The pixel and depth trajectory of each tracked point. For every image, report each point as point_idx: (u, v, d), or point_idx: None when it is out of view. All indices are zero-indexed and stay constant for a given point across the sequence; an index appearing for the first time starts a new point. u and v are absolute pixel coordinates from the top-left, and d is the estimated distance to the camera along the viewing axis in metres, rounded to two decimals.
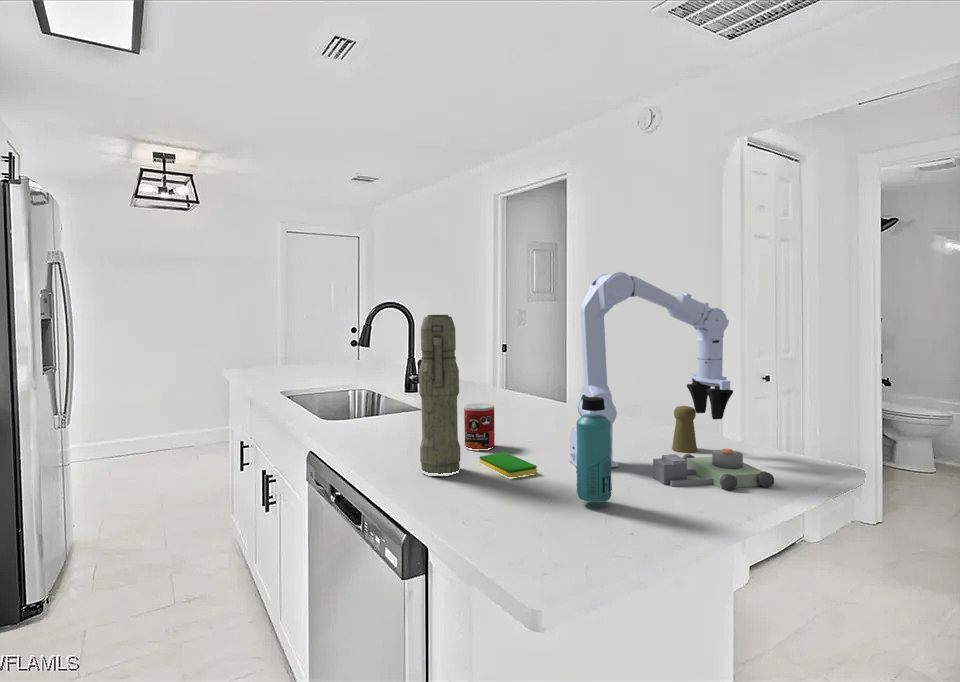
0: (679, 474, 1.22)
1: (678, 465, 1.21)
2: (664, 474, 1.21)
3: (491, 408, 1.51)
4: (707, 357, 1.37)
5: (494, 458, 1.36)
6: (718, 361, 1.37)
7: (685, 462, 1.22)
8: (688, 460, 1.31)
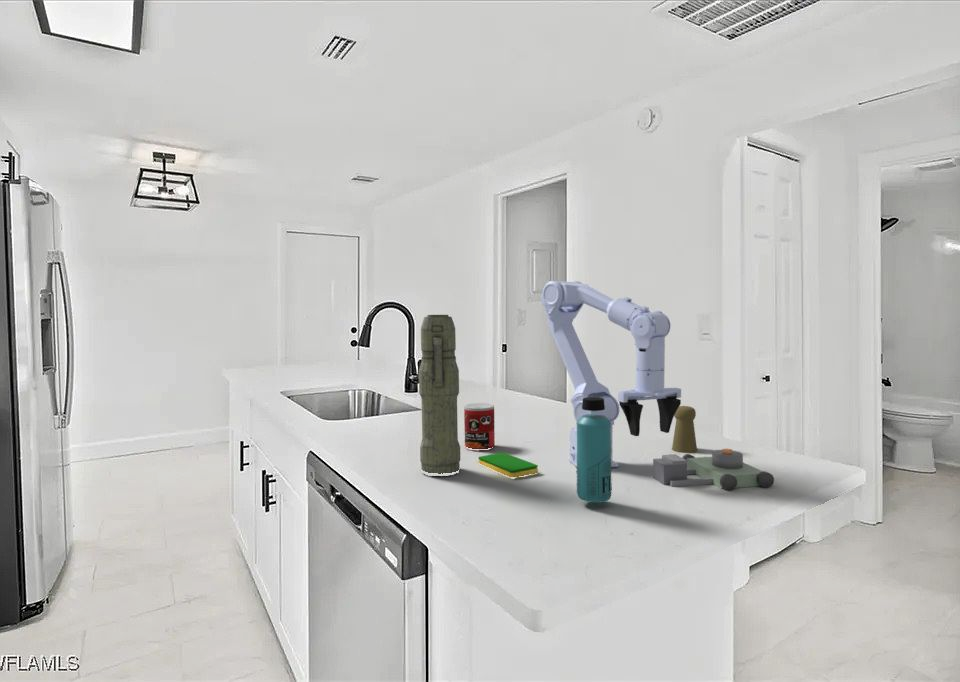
0: (679, 474, 1.22)
1: (678, 465, 1.21)
2: (664, 474, 1.21)
3: (491, 408, 1.51)
4: (636, 367, 1.24)
5: (494, 458, 1.36)
6: (641, 372, 1.23)
7: (685, 462, 1.22)
8: (688, 460, 1.31)
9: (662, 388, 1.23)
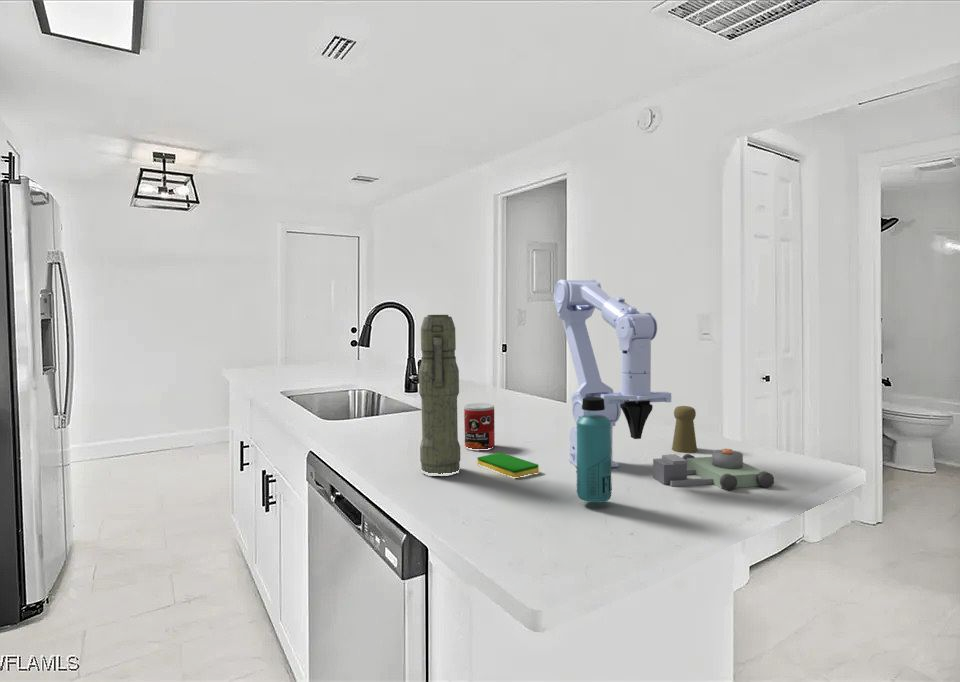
0: (679, 474, 1.22)
1: (678, 465, 1.21)
2: (664, 474, 1.21)
3: (491, 408, 1.51)
4: None
5: (493, 459, 1.35)
6: (624, 375, 1.20)
7: (685, 462, 1.22)
8: (688, 460, 1.31)
9: (646, 392, 1.19)
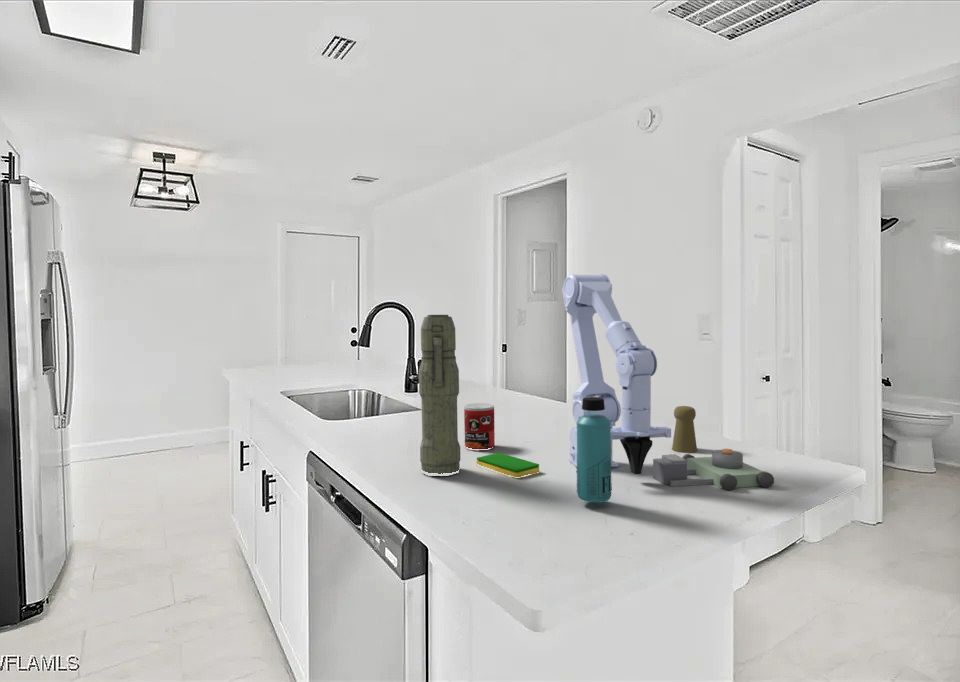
0: (679, 474, 1.22)
1: (678, 465, 1.21)
2: (664, 474, 1.21)
3: (491, 408, 1.51)
4: None
5: (493, 459, 1.35)
6: (624, 410, 1.21)
7: (685, 462, 1.22)
8: (688, 460, 1.31)
9: (646, 428, 1.20)
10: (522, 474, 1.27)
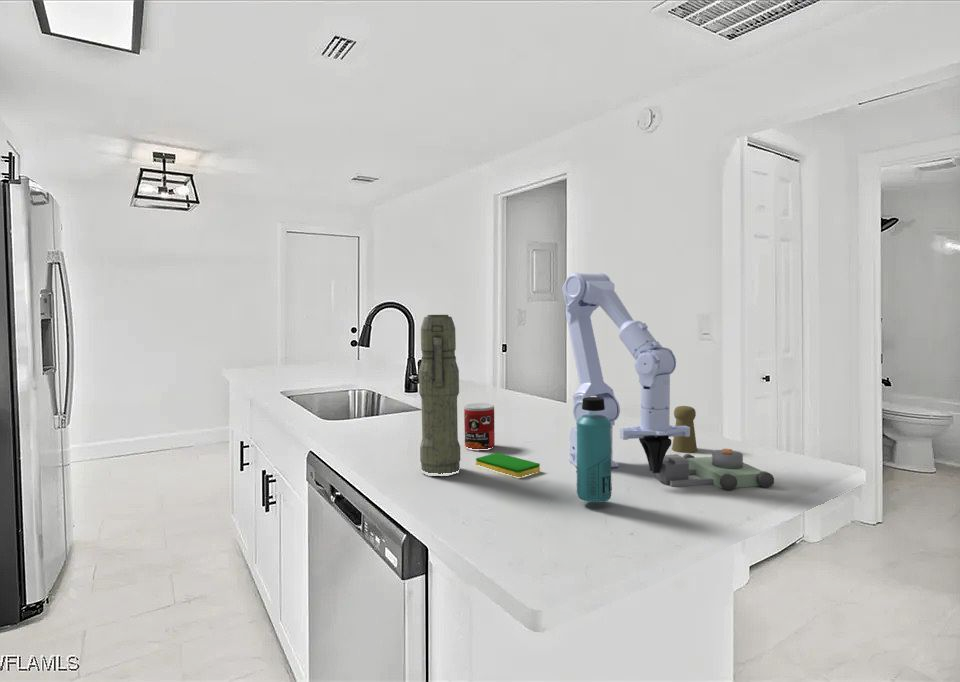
0: (681, 474, 1.22)
1: (679, 465, 1.22)
2: (666, 474, 1.21)
3: (491, 408, 1.51)
4: (641, 404, 1.23)
5: (493, 459, 1.35)
6: (643, 410, 1.21)
7: (687, 462, 1.22)
8: None
9: (665, 427, 1.20)
10: (524, 474, 1.28)
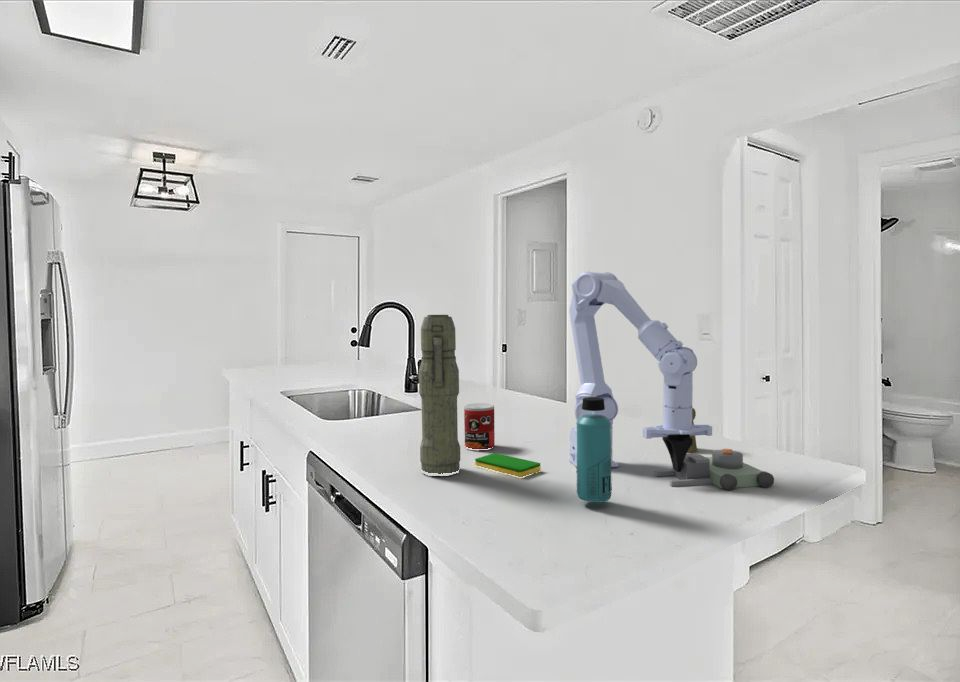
0: (702, 473, 1.22)
1: (700, 463, 1.22)
2: (687, 473, 1.22)
3: (491, 408, 1.51)
4: (665, 404, 1.23)
5: (492, 459, 1.35)
6: (666, 409, 1.22)
7: (708, 461, 1.22)
8: None
9: (688, 426, 1.21)
10: (526, 473, 1.28)
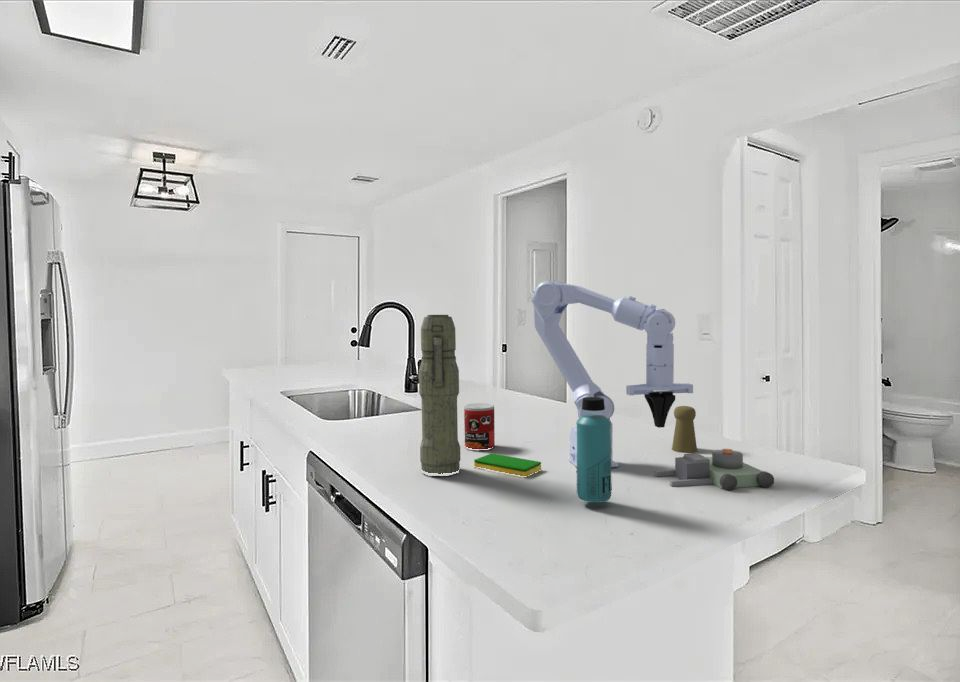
0: (702, 473, 1.22)
1: (700, 463, 1.22)
2: (687, 473, 1.22)
3: (491, 408, 1.51)
4: (649, 363, 1.28)
5: (492, 460, 1.34)
6: (649, 367, 1.29)
7: (708, 461, 1.22)
8: None
9: (669, 383, 1.27)
10: (529, 473, 1.28)
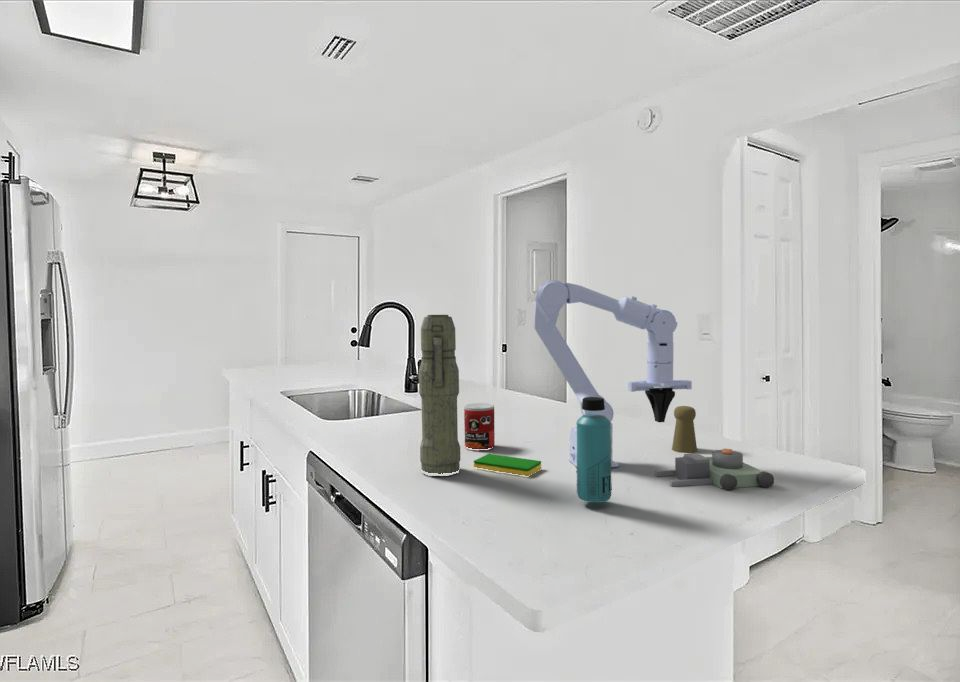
0: (702, 473, 1.22)
1: (700, 463, 1.22)
2: (687, 473, 1.22)
3: (491, 408, 1.51)
4: (654, 360, 1.33)
5: (492, 460, 1.34)
6: (649, 364, 1.34)
7: (708, 461, 1.22)
8: None
9: (669, 379, 1.33)
10: (531, 472, 1.29)
